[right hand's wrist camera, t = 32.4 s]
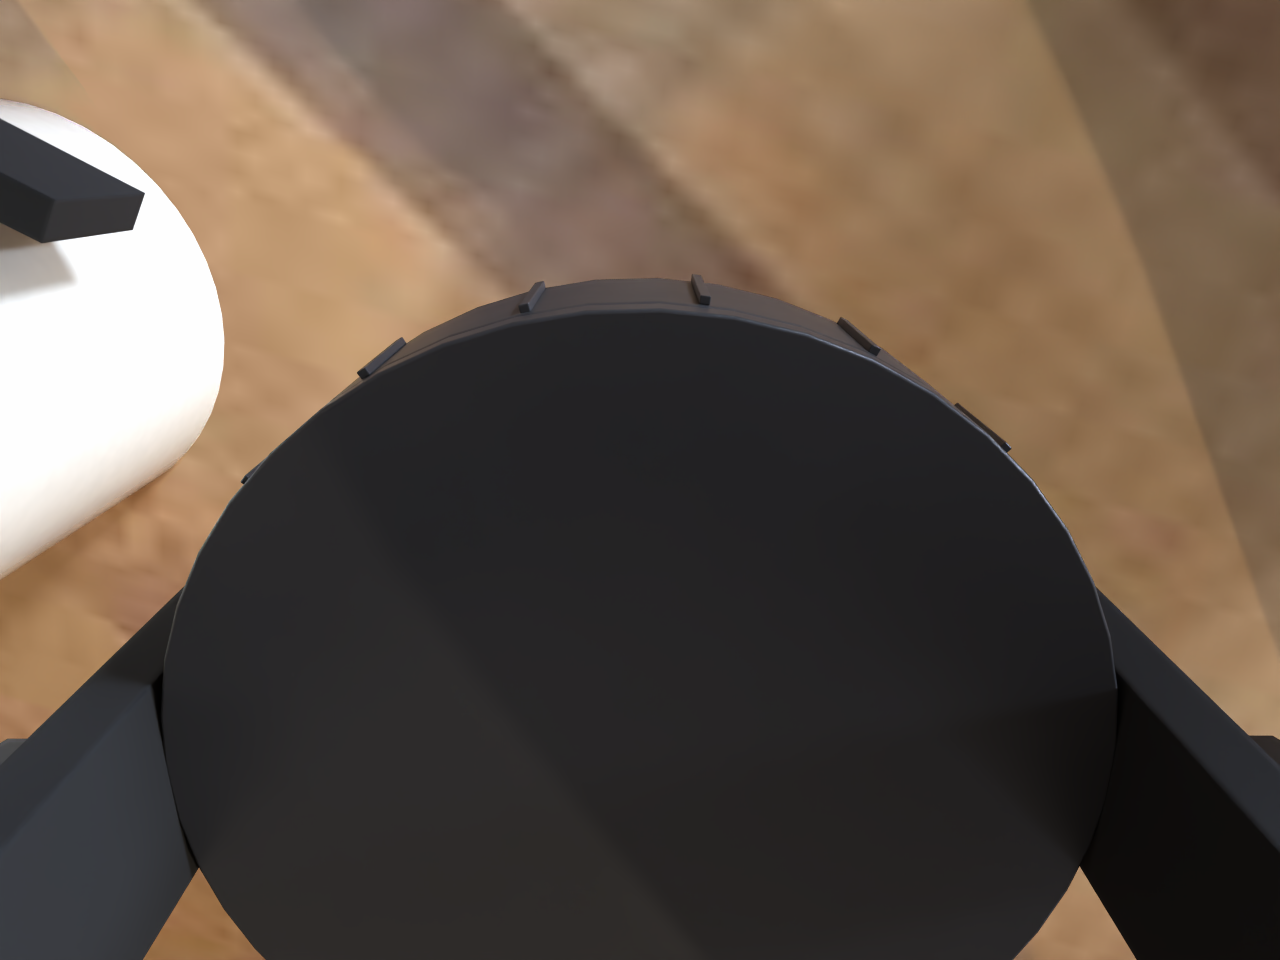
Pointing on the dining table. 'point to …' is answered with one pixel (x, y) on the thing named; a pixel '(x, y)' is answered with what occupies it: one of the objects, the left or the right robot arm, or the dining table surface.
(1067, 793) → the lid
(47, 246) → the jar
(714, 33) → the dining table surface
